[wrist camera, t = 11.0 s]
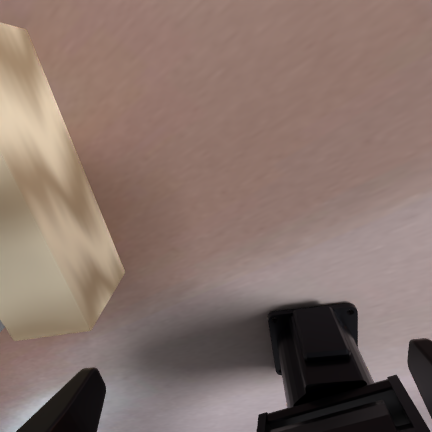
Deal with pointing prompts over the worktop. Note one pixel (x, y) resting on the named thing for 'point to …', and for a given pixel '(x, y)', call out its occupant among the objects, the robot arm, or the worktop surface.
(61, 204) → the block
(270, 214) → the worktop surface
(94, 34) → the worktop surface
